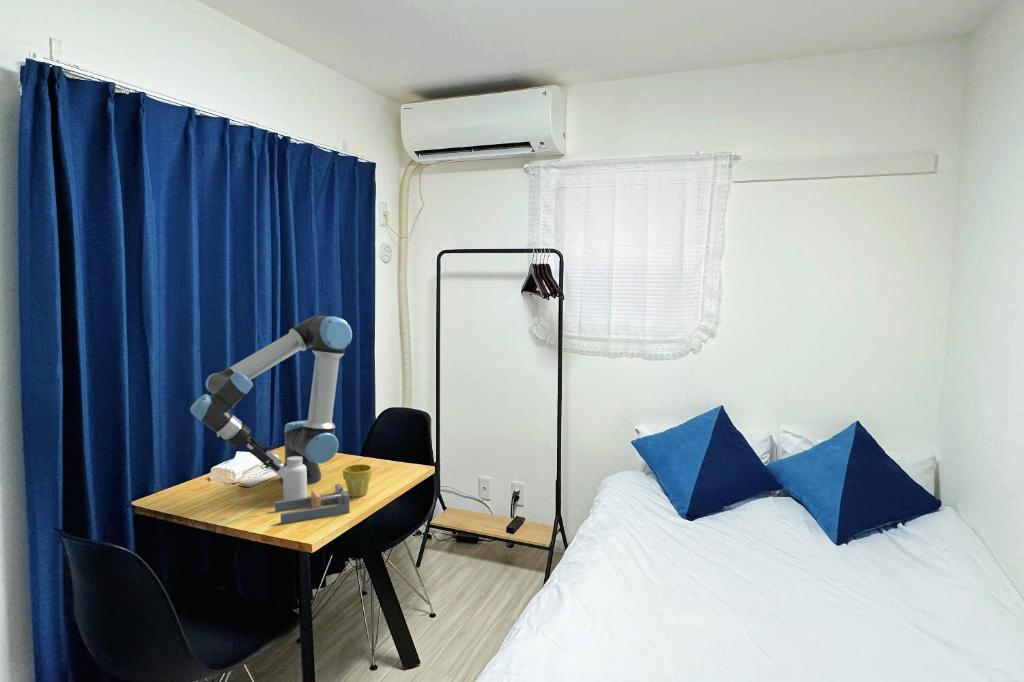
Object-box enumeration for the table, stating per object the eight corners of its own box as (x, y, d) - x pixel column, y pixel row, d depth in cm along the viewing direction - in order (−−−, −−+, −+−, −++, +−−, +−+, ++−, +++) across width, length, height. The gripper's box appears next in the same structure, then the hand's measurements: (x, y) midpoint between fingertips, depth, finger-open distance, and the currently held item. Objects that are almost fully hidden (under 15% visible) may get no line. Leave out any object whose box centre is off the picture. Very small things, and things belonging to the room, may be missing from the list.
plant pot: (339, 498, 210) (339, 472, 209) (347, 489, 221) (347, 463, 220) (368, 499, 211) (368, 472, 210) (374, 489, 221) (374, 464, 220)
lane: (281, 524, 187) (281, 505, 186) (274, 510, 198) (274, 493, 197) (349, 512, 197) (349, 495, 197) (339, 500, 209) (339, 483, 208)
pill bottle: (286, 495, 212) (286, 454, 211) (309, 495, 213) (309, 454, 212) (280, 503, 205) (279, 461, 203) (303, 503, 205) (303, 461, 204)
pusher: (316, 514, 194) (316, 497, 194) (311, 506, 202) (311, 489, 201) (347, 509, 199) (348, 492, 199) (341, 501, 207) (341, 484, 206)
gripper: (222, 432, 206) (268, 468, 215) (229, 449, 185) (280, 488, 194) (239, 415, 208) (284, 452, 217) (247, 431, 187) (297, 471, 196)
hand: (282, 469), depth 205 cm, fingers open, 13 cm apart
